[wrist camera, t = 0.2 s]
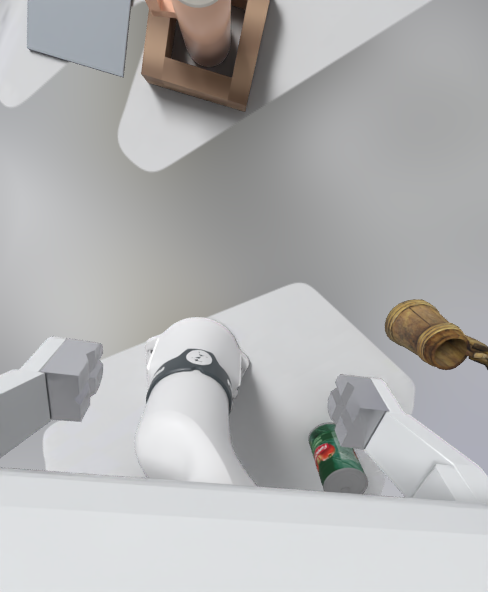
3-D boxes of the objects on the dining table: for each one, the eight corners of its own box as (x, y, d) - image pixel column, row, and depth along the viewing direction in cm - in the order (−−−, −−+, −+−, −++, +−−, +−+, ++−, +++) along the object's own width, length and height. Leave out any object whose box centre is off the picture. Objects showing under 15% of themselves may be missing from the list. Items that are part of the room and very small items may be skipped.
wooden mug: (449, 344, 57) (541, 411, 41) (380, 342, 57) (443, 410, 40) (463, 300, 54) (569, 352, 38) (390, 297, 54) (464, 349, 37)
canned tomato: (307, 424, 62) (322, 472, 52) (345, 419, 62) (368, 466, 52) (309, 454, 65) (324, 504, 55) (345, 449, 65) (367, 499, 55)
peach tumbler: (233, 11, 39) (236, -97, 24) (230, 71, 41) (231, 5, 26) (163, 3, 38) (120, -113, 23) (164, 64, 41) (125, -7, 26)
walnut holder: (245, 111, 43) (246, 105, 40) (148, 82, 41) (141, 73, 38) (271, -7, 39) (275, -25, 35) (164, -45, 37) (158, -68, 34)
